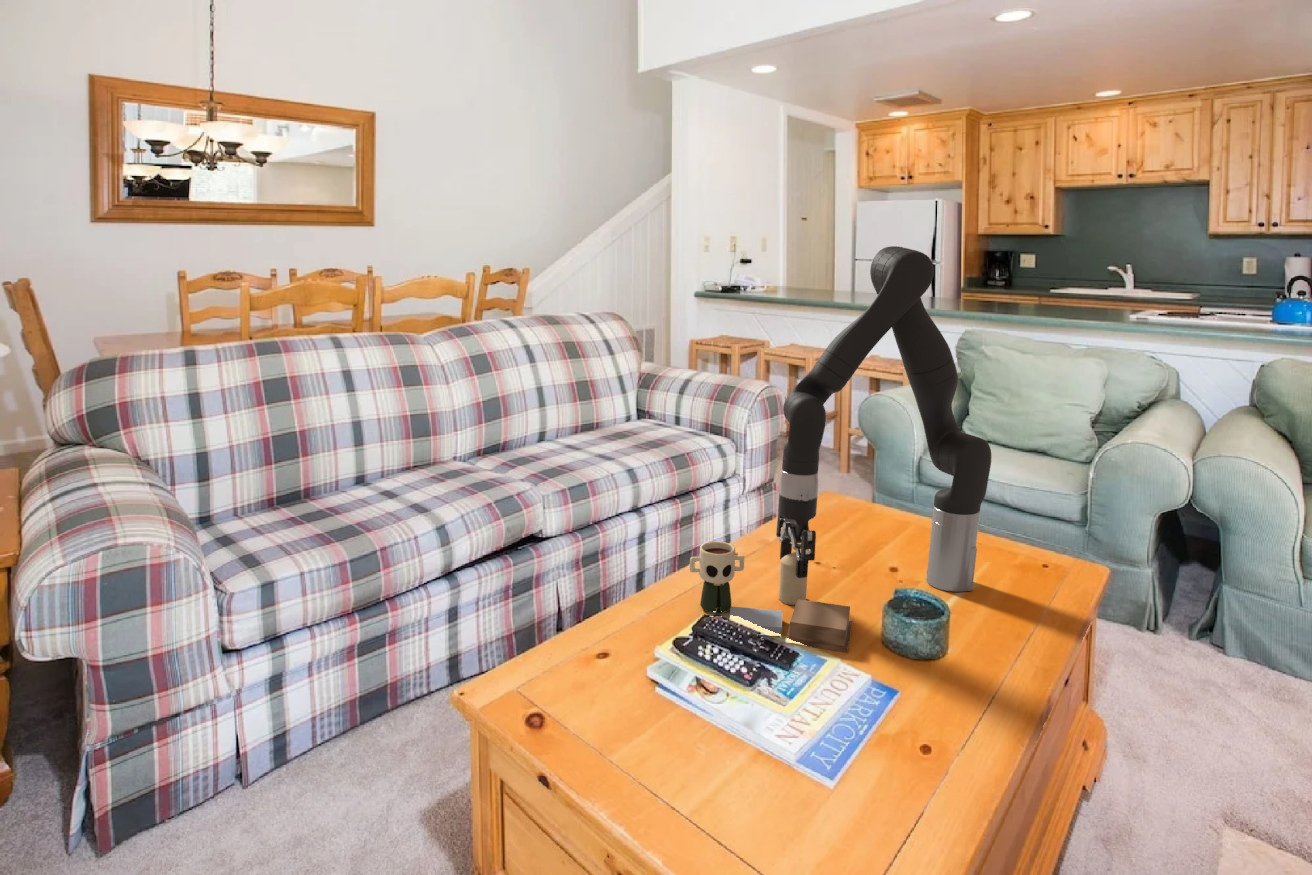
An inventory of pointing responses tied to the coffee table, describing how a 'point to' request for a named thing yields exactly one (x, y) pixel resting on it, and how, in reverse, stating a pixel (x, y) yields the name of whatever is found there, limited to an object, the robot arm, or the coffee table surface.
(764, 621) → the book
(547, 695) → the coffee table surface
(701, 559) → the character mug
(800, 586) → the candle
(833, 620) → the stand
